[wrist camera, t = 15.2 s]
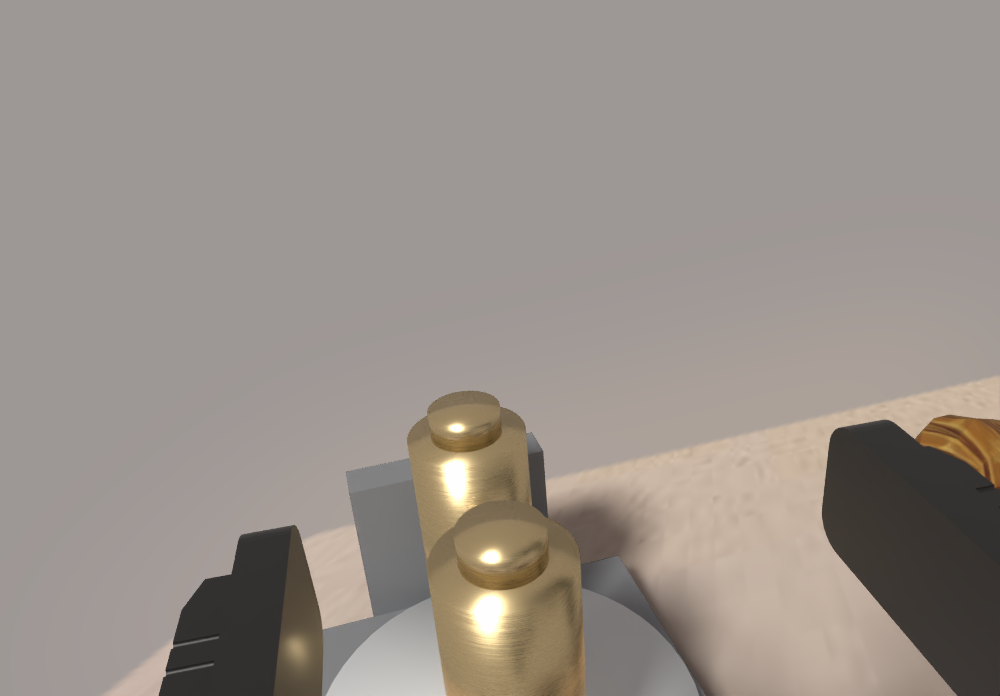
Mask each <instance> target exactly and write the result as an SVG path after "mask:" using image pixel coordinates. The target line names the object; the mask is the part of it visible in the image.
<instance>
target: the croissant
mask: <svg viewBox="0 0 1000 696" xmlns="http://www.w3.org/2000/svg"><path fill="white" fill-rule="evenodd" d="M915 440H916V441H917V442H919V443H920V444H921V445H922V446H923V447H925V446H931V447H933V448H935V449H937V450H940V451H942V452H944V453H946V454H948V455H951V456H953V457H955V458H957V459H960V460H962V461H964V462H966V463H967V464H969V465H970V466H971V467H973V468H974V469H975V470H976V471H978V472H979V473H980V474H982V475H983V476H984V477H985V478H987V479H988V480H989V481H990V482H992V483H993V484H994V486H995V489H996V490H998V489H1000V420H993V419H976V418H968V417H962V416H955V415H946V416H942V417H937V418H934V419H933V420H932V421H931V422H930V423H929V424H928V425H927V426H926V427H925V428H924V429H923V431H922V432H921V433H920V434H919V435H918V436H917V437H916V439H915Z"/></svg>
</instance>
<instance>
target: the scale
mask: <svg viewBox="0 0 1000 696" xmlns="http://www.w3.org/2000/svg"><path fill="white" fill-rule="evenodd" d="M526 438H527V450H528V463H529V475H530V488H531V500H532V506H533V507H535V508H536V509H538V510H539V511H540V512H541V513H542V514H543V516H544V517H547V518H548V513H547V499H546V485H545V471H544V458H543V450H542V448H541V447H540V445H539V443H538V442H537V440H536V438H535V437H534V435H533V433H532V432H531V433H526ZM346 476H347V483H348V489H349V495H350V500H351V505H352V510H353V515H354V520H355V525H356V530H357V535H358V540H359V545H360V550H361V555H362V560H363V565H364V570H365V575H366V580H367V585H368V590H369V595H370V600H371V605H372V610H373V615H374V617H371V618H367V619H363V620H359V621H355V622H351V623H348V624H344V625H340V626H336V627H332V628H328V629H324V630H322V631H323V646H324V653H323V679H322V696H446V693H445V686H444V680H443V673H442V667H441V660H440V654H439V647H438V641H437V634H436V628H435V621H434V614H433V608H432V601H431V595H430V588H429V582H428V575H427V566H426V559H425V553H424V547H423V540H422V534H421V527H420V521H419V515H418V508H417V502H416V495H415V489H414V483H413V476H412V470H411V463H410V458H409V459H404V460H399V461H394V462H390V463H385V464H380V465H376V466H370V467H366V468H362V469H356V470H352V471H347V472H346ZM581 584H582V606H583V627H584V648H585V669H586V690H587V696H706V695H705V693H704V692H703V690H702V688H701V687H700V685H699V684H698V682H697V680H696V679H695V677H694V676H693V674H692V672H691V671H690V669H689V668H688V666H687V664H686V663H685V661H684V660H683V658H682V656H681V655H680V653H679V652H678V650H677V648H676V647H675V645H674V644H673V642H672V640H671V639H670V637H669V636H668V634H667V632H666V631H665V629H664V628H663V626H662V624H661V623H660V621H659V620H658V618H657V616H656V615H655V613H654V612H653V610H652V608H651V607H650V605H649V604H648V602H647V600H646V599H645V597H644V596H643V594H642V593H641V591H640V589H639V588H638V586H637V585H636V583H635V581H634V580H633V578H632V577H631V575H630V573H629V572H628V570H627V569H626V567H625V565H624V564H623V562H622V561H621V559H620V557H619V556H614V557H610V558H606V559H602V560H598V561H594V562H590V563H587V564H583V565H581Z"/></svg>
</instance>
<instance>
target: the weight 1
mask: <svg viewBox="0 0 1000 696" xmlns="http://www.w3.org/2000/svg"><path fill="white" fill-rule="evenodd" d="M407 444H408V451H409V457H410V463H411V470H412V476H413V483H414V489H415V495H416V502H417V508H418V515H419V521H420V527H421V534H422V540H423V547H424V553H425V559H426V566H427V560H428V556H429V554H430V551H431V549H432V548H433V546H434V544H435V543H436V542H437V540H438V539H439V538H440V537H441V536H442V535H443V534H444V533H446V532H447V531H448V530H449V529H451V528H452V527H454V526H455V524H456V522H457V521H458V519H459V518H460V517H461V516H462V515H463V514H464V513H465V512H467V511H468V510H470V509H471V508H473V507H475V506H477V505H480V504H483V503H486V502H491V501H497V500H513V501H519V502H523V503H526V504H529V505H531V506H532V500H531V488H530V475H529V463H528V450H527V438H526V428H525V424H524V422H523V420H522V419H521V418H520V416H518V415H517V414H516V413H514V412H512V411H510V410H508V409H506V408H503V407H500V404H499V401H498V400H497V399H496V398H495V397H494V396H492V395H490V394H487V393H484V392H479V391H462V392H455V393H451V394H448V395H445V396H443V397H441V398H439V399H437V400H436V401H435V402H433V403H432V404H431V405H430V406H429V408H428V416H426V417H424V418H423V419H421V420H420V421H419V422H417V423H416V424H415V425H414V426H413V427H412V429H411V430H410V432H409V434H408V438H407Z"/></svg>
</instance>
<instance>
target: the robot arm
mask: <svg viewBox="0 0 1000 696" xmlns="http://www.w3.org/2000/svg"><path fill="white" fill-rule="evenodd" d="M822 520H823V525H824V529H825V532H826V535H827V538H828V540H829V542H830V544H831V546H832V547H833V549H834V550H835V552H836V553H837V554H838V555H839V557H840V558H841V559H842V560H843V561H844V563H845V564H846V565H847V566H848V567H849V568H850V570H851V571H852V572H853V573H854V574H855V576H856V577H857V578H858V579H859V580H860V581H861V583H862V584H863V585H864V586H865V587H866V588H867V590H868V591H869V592H870V593H871V594H872V596H873V597H874V598H875V599H876V600H877V601H878V603H879V604H880V605H881V606H882V607H883V609H884V610H885V611H886V612H887V613H888V614H889V616H890V617H891V618H892V619H893V620H894V621H895V623H896V624H897V625H898V626H899V627H900V629H901V630H902V631H903V632H904V633H905V634H906V636H907V637H908V638H909V639H910V640H911V642H912V643H913V644H914V645H915V646H916V647H917V649H918V650H919V651H920V652H921V653H922V654H923V656H924V657H925V658H926V659H927V660H928V662H929V663H930V664H931V665H932V666H933V667H934V669H935V670H936V671H937V672H938V673H939V675H940V676H941V677H942V678H943V679H944V680H945V682H946V683H947V684H948V685H949V686H950V687H951V689H952V690H953V691H954V692H955V693H956V695H957V696H1000V489H998V490H996V489H995V486H994V484H993V483H992V482H990V481H989V480H988V479H987V478H985V477H984V476H983V475H982V474H980V473H979V472H978V471H976V470H975V469H974V468H973V467H971V466H970V465H969V464H967V463H966V462H964V461H962V460H960V459H957V458H955V457H953V456H951V455H948V454H946V453H944V452H942V451H940V450H937V449H935V448H933V447H931V446H925V447H923V446H922V445H921V444H920V443H919V442H917V441H916V440H915V439H914V438H912V437H911V436H910V435H909V434H907V433H906V432H905V431H904V430H903V429H901V428H900V427H899V426H898V425H896V424H895V423H893V422H892V421H889V420H880V421H874V422H869V423H863V424H858V425H852V426H847V427H841V428H838V429H836V430H835V431H834V432H833V433H832V435H831V438H830V443H829V451H828V460H827V469H826V478H825V487H824V496H823V505H822ZM323 653H324V646H323V631H322V622H321V616H320V610H319V606H318V602H317V598H316V594H315V590H314V586H313V583H312V579H311V575H310V571H309V567H308V563H307V560H306V556H305V552H304V548H303V544H302V540H301V537H300V534H299V531H298V529H297V527H296V526H295V525H293V526H287V527H281V528H276V529H270V530H264V531H259V532H253V533H248V534H243V535H241V536H240V538H239V541H238V545H237V550H236V555H235V561H234V565H233V570H232V574H231V575H226V576H220V577H215V578H209V579H205V580H204V581H203V583H202V584H201V585H200V587H199V588H198V589H197V591H196V592H195V593H194V595H193V596H192V597H191V598H190V600H189V601H188V602H187V604H186V605H185V606H184V608H183V609H182V611H181V615H180V618H179V622H178V626H177V629H176V633H175V637H174V641H173V649H171V652H170V655H169V659H168V663H167V667H166V677H164V678H163V681H162V685H161V689H160V692H159V696H322V679H323Z"/></svg>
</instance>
